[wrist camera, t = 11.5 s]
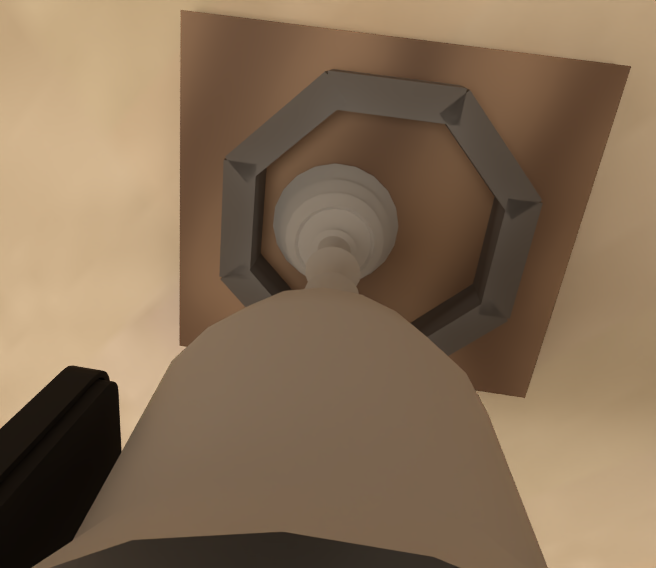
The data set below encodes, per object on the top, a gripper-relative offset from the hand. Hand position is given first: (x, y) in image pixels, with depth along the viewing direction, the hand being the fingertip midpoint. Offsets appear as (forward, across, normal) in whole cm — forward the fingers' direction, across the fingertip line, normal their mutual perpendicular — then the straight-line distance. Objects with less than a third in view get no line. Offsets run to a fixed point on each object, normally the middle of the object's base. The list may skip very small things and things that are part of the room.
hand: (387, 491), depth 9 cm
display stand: (+16, +1, 0) cm, 16 cm away
